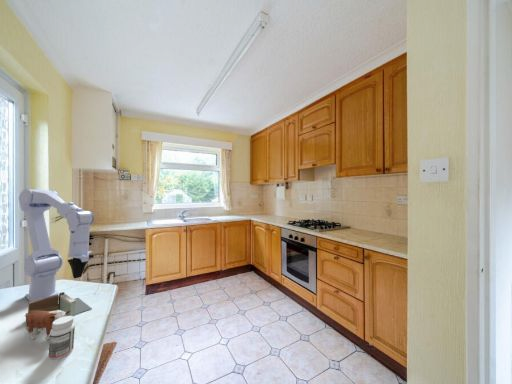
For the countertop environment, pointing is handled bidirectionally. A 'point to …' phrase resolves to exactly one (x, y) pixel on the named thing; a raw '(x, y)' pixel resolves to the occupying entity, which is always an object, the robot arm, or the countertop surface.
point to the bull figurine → (42, 321)
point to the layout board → (79, 307)
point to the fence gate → (67, 304)
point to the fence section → (46, 304)
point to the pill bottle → (61, 337)
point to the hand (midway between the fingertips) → (77, 277)
